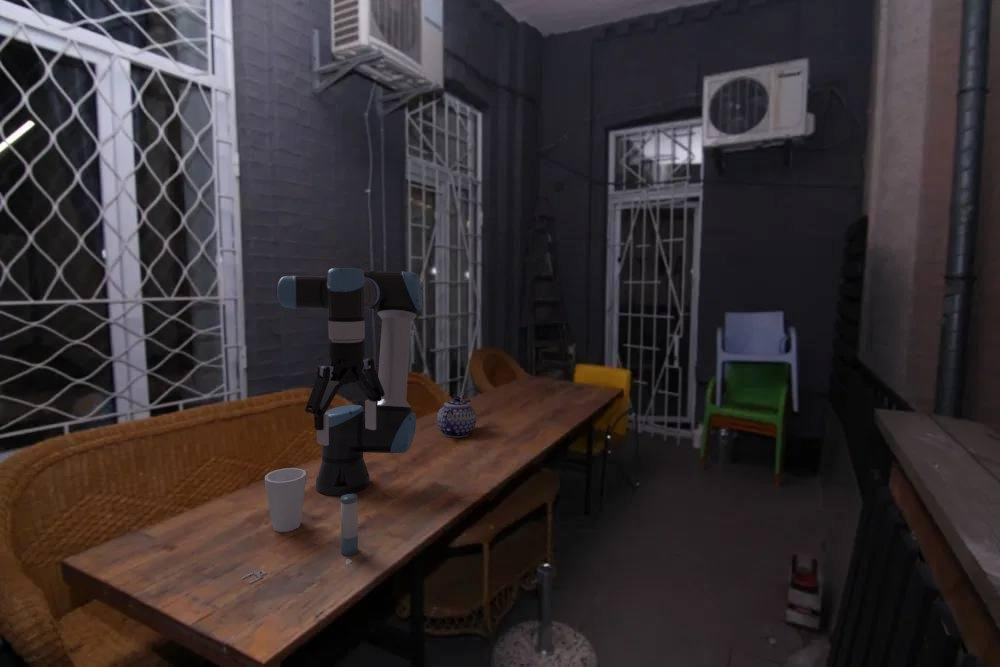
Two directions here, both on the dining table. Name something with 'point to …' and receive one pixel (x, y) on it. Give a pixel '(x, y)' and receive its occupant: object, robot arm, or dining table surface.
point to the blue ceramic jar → (456, 418)
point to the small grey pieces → (266, 573)
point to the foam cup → (285, 497)
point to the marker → (349, 524)
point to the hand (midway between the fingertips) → (348, 436)
